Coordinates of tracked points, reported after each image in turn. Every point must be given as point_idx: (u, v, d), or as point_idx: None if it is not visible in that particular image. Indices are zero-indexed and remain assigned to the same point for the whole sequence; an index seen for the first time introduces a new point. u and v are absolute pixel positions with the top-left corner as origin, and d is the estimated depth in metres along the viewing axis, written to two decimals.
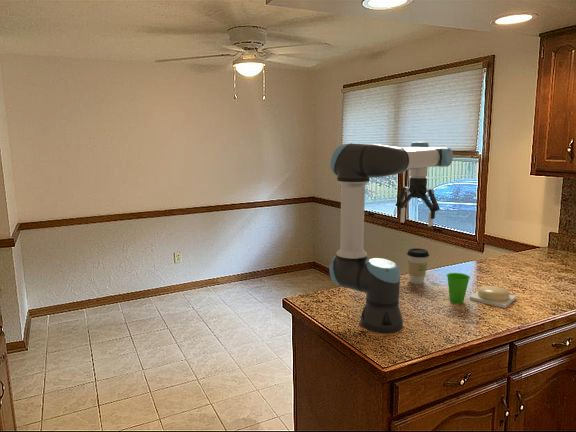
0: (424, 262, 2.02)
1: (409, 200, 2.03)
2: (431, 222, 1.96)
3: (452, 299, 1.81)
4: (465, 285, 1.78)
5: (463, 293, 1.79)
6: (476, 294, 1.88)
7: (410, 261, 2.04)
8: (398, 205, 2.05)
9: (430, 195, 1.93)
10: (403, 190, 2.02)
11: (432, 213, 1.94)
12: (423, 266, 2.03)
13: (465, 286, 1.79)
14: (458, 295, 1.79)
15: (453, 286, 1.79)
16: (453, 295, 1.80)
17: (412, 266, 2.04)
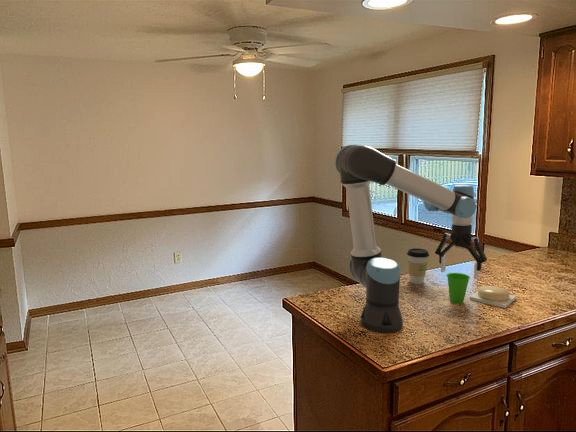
0: (424, 262, 2.02)
1: (450, 248, 1.83)
2: (477, 274, 1.76)
3: (452, 299, 1.81)
4: (465, 285, 1.78)
5: (463, 293, 1.79)
6: (476, 294, 1.88)
7: (410, 261, 2.04)
8: (438, 253, 1.85)
9: (476, 245, 1.73)
10: (444, 237, 1.82)
11: (478, 265, 1.74)
12: (423, 266, 2.03)
13: (465, 286, 1.79)
14: (458, 295, 1.79)
15: (453, 286, 1.79)
16: (453, 295, 1.80)
17: (412, 266, 2.04)
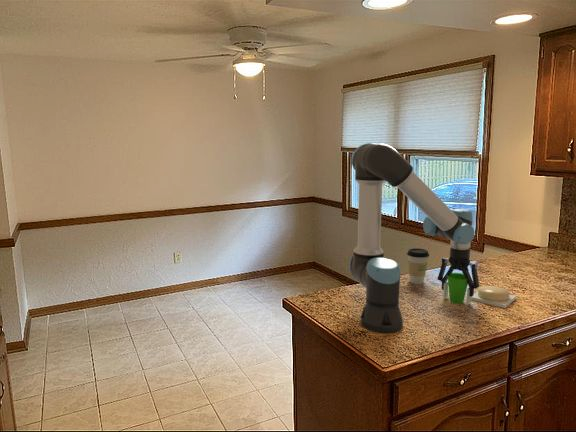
0: (424, 262, 2.02)
1: (451, 272, 1.84)
2: (469, 299, 1.79)
3: (452, 299, 1.81)
4: (465, 285, 1.78)
5: (463, 293, 1.79)
6: (476, 294, 1.88)
7: (410, 261, 2.04)
8: (440, 279, 1.86)
9: (473, 271, 1.75)
10: (443, 262, 1.83)
11: (471, 290, 1.78)
12: (423, 266, 2.03)
13: (465, 286, 1.79)
14: (458, 295, 1.79)
15: (453, 286, 1.79)
16: (453, 295, 1.80)
17: (412, 266, 2.04)
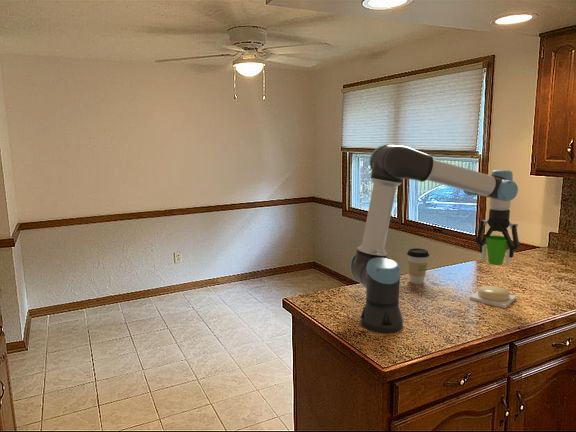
0: (424, 262, 2.02)
1: None
2: (509, 261, 1.79)
3: (491, 261, 1.81)
4: (504, 246, 1.78)
5: (503, 254, 1.79)
6: (476, 294, 1.88)
7: (410, 261, 2.04)
8: (479, 242, 1.86)
9: (513, 231, 1.75)
10: (481, 224, 1.83)
11: (511, 251, 1.77)
12: (423, 266, 2.03)
13: (505, 247, 1.78)
14: (498, 256, 1.79)
15: (493, 247, 1.79)
16: (492, 256, 1.80)
17: (412, 266, 2.04)
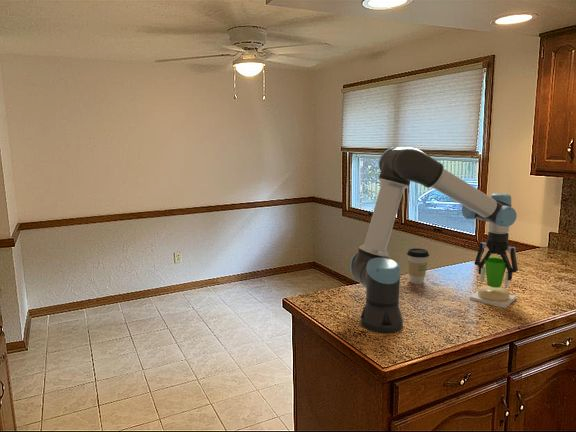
0: (424, 262, 2.02)
1: None
2: (508, 283, 1.81)
3: (490, 283, 1.83)
4: (503, 269, 1.80)
5: (501, 277, 1.81)
6: (476, 294, 1.88)
7: (410, 261, 2.04)
8: (477, 264, 1.87)
9: (512, 254, 1.77)
10: (480, 246, 1.85)
11: (509, 274, 1.79)
12: (423, 266, 2.03)
13: (503, 270, 1.80)
14: (496, 278, 1.81)
15: (491, 270, 1.81)
16: (491, 279, 1.82)
17: (412, 266, 2.04)
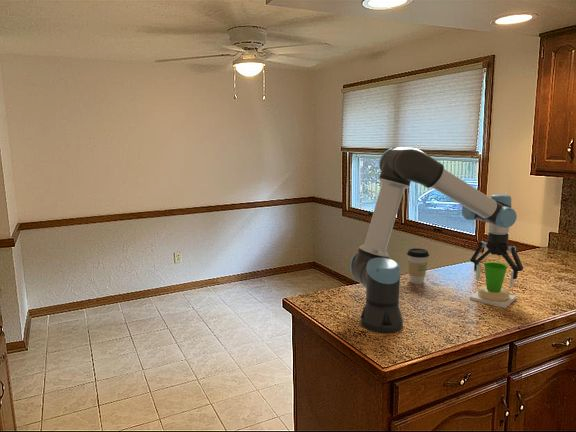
0: (424, 262, 2.02)
1: None
2: (513, 282, 1.79)
3: (489, 288, 1.83)
4: (503, 274, 1.80)
5: (501, 282, 1.81)
6: (476, 294, 1.88)
7: (410, 261, 2.04)
8: (473, 261, 1.88)
9: (513, 253, 1.76)
10: (480, 245, 1.85)
11: (515, 273, 1.78)
12: (423, 266, 2.03)
13: (503, 275, 1.80)
14: (496, 284, 1.81)
15: (491, 275, 1.81)
16: (491, 284, 1.82)
17: (412, 266, 2.04)
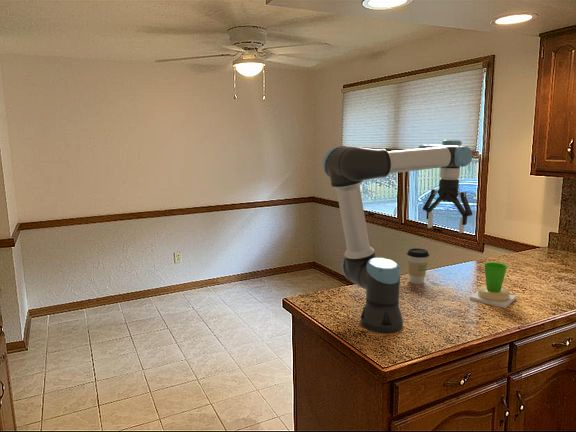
0: (424, 262, 2.02)
1: None
2: (462, 228, 1.79)
3: (489, 288, 1.83)
4: (502, 274, 1.80)
5: (501, 282, 1.81)
6: (476, 294, 1.88)
7: (410, 261, 2.04)
8: (425, 209, 1.88)
9: (462, 198, 1.76)
10: (432, 192, 1.85)
11: (464, 219, 1.77)
12: (423, 266, 2.03)
13: (503, 275, 1.81)
14: (496, 283, 1.81)
15: (491, 275, 1.81)
16: (491, 284, 1.82)
17: (412, 266, 2.04)
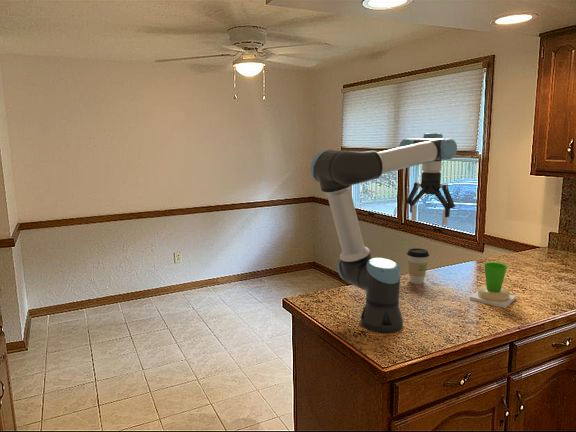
0: (424, 262, 2.02)
1: None
2: (445, 221, 1.80)
3: (489, 288, 1.83)
4: (502, 274, 1.80)
5: (501, 282, 1.81)
6: (476, 294, 1.88)
7: (410, 261, 2.04)
8: (409, 202, 1.89)
9: (444, 191, 1.77)
10: (414, 186, 1.85)
11: (446, 211, 1.78)
12: (423, 266, 2.03)
13: (503, 275, 1.81)
14: (496, 283, 1.81)
15: (491, 275, 1.81)
16: (490, 284, 1.82)
17: (412, 266, 2.04)
